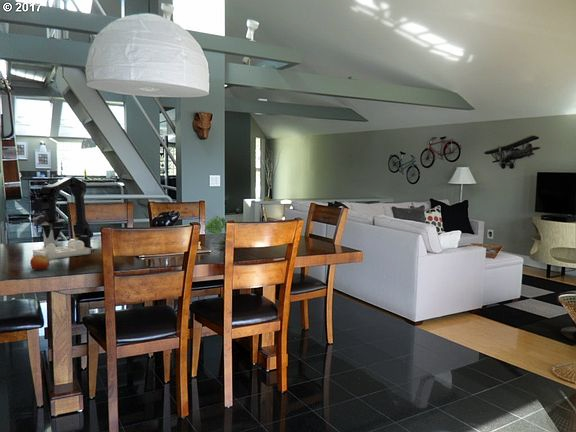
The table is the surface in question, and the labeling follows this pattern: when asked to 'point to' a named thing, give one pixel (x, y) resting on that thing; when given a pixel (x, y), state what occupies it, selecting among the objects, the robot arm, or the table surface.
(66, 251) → the carton
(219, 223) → the plant cuttings
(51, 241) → the can
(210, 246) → the table surface
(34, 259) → the fruit
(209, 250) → the table surface
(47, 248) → the egg
